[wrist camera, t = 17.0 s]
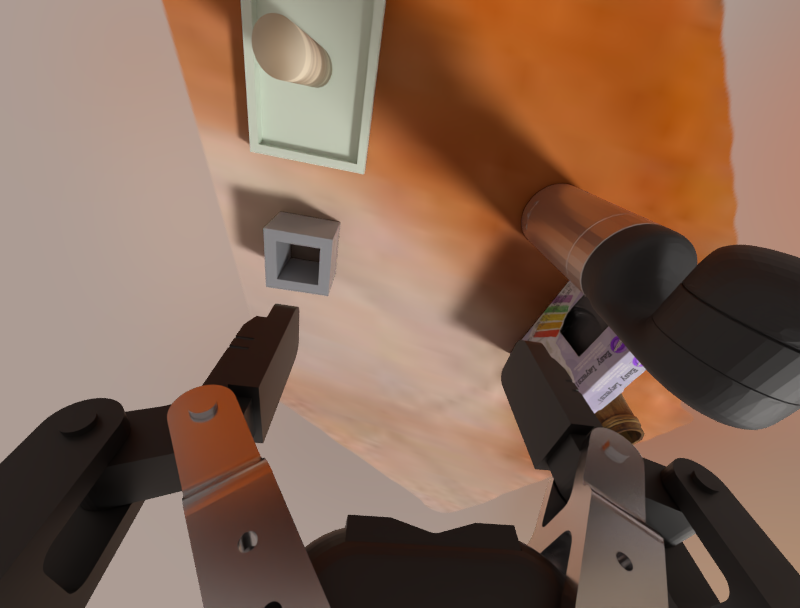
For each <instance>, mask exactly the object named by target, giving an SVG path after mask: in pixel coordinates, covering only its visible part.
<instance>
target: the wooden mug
mask: <svg viewBox="0 0 800 608" xmlns="http://www.w3.org/2000/svg"><path fill="white" fill-rule="evenodd" d="M595 415H596V417H597V418H598V420H599V421H600V423H601V424H602V426H603V428H607V429H610V430H612V431H615V432H617V433H618V434H620V435H622V436H623V437H624V438H626V439H627V440H628V441H629V442H630V443H631V444H632V445H633V444H635V443H637V442H639V441H640V440H642V438H643V436H644V432H643V430H642V428H641V424H640V422H639V420H638V418H637V417H635V416H634V415H633V413H632V411H631V410H630V408H629V406H628V404H627V403H626V401H625V399H624V397H623V396H622V394H621V393H620V394H619V395H618V396H617V397H616V398H615V399H613V400H612V401H611V402H610V403H609V404H607V405H606V406H605V407H604V408H603V409H601V410H598V411H597V412H596V413H595Z"/></svg>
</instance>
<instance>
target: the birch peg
mask: <svg viewBox="0 0 800 608" xmlns="http://www.w3.org/2000/svg"><path fill="white" fill-rule="evenodd" d="M252 48H253V52H254V55H255V58H256V60H257V62H258V63H259V65H260V66H261V68H262V69H263V70H264V71H265V72H266V73H267V74H268V75H270V76H271V77H273V78H275V79H278V80H282V81H287V82H291V83H296V84H300V85H305V86H310V87H315V88H319V87H323V86H324V85H326V84H327V83H328V82H329V80H330V78H331V75H332V62H331V59H330V56H329V54H328V53H327V51H326V50H325V49H324V48H323V47H322V46H321V45H319V44H318V43H317V42H316V41H315V40H313V39H312V38H311V37H310V36H309V35H307V34H306V33H305V32H304V31H303V30H301V29H300V28H299V27H298V26H297V25H295V24H294V23H293V22H292V21H291V20H289V19H288V18H287V17H285V16H283V15H281V14H278V13H268V14H265V15H263V16H262V17H260V18H259V19H258V20H257V22H256V23H255V25H254V28H253V31H252Z"/></svg>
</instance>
